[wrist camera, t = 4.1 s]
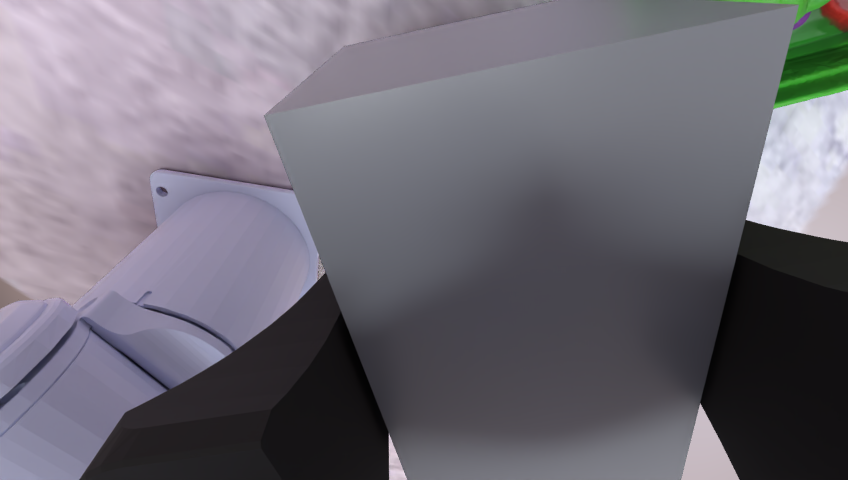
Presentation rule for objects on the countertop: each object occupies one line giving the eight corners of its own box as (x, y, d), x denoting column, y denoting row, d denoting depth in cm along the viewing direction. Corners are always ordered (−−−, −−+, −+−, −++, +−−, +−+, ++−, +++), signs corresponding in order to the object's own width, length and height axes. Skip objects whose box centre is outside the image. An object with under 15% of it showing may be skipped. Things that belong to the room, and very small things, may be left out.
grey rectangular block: (580, 316, 16) (674, 504, 10) (423, 341, 16) (428, 533, 10) (582, -6, 10) (800, 4, 4) (344, 46, 11) (264, 115, 5)
